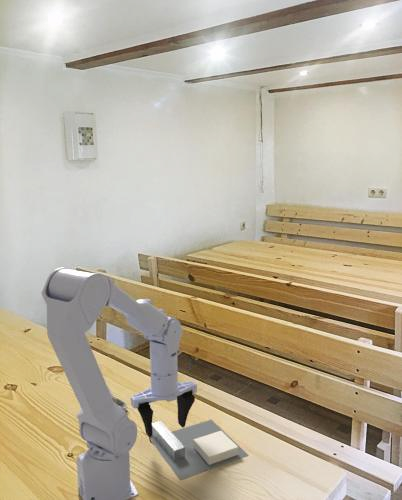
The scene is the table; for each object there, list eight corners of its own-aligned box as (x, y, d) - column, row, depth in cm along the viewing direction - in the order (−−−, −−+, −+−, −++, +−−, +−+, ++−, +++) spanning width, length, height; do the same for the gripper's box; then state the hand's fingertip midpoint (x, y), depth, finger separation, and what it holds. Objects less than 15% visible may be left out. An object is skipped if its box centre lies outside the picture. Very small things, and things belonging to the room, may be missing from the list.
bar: (185, 457, 95) (174, 461, 94) (160, 430, 106) (151, 433, 104) (185, 447, 95) (174, 450, 94) (160, 420, 105) (150, 423, 104)
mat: (180, 481, 89) (180, 479, 89) (149, 440, 103) (149, 438, 103) (248, 456, 96) (248, 455, 96) (211, 421, 110) (211, 419, 110)
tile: (193, 447, 99) (209, 465, 93) (193, 439, 99) (208, 457, 92) (221, 438, 102) (238, 455, 96) (221, 430, 102) (238, 446, 96)
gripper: (137, 385, 90) (140, 448, 92) (203, 370, 96) (203, 429, 99) (126, 372, 96) (128, 431, 98) (188, 358, 102) (189, 414, 105)
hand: (165, 429), depth 99 cm, fingers open, 7 cm apart
